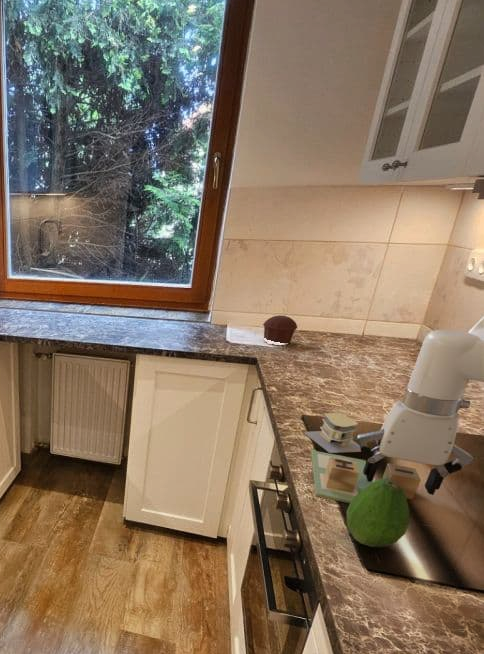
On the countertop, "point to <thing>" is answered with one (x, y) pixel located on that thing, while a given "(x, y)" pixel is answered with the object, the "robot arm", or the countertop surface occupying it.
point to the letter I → (403, 478)
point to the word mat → (319, 470)
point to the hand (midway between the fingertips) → (397, 484)
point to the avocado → (378, 514)
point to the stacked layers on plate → (336, 434)
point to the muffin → (279, 329)
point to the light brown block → (341, 474)
